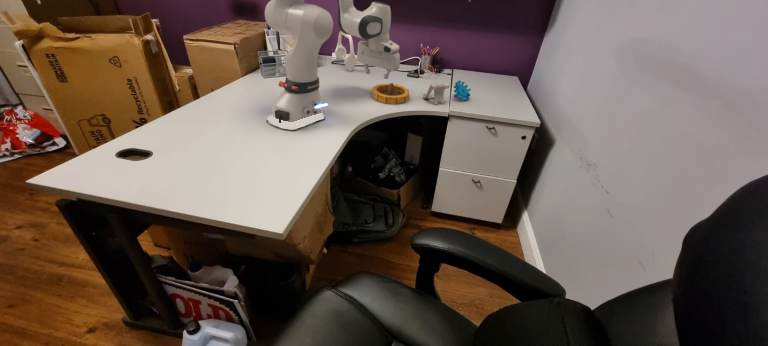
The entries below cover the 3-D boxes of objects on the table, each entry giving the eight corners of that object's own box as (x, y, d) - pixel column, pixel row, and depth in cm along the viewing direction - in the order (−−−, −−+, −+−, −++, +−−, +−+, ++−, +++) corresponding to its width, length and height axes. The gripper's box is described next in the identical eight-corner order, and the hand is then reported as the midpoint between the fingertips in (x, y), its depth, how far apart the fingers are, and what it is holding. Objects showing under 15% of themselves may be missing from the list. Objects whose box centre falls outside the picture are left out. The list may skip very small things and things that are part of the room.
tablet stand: (439, 96, 152) (442, 79, 147) (447, 103, 146) (451, 85, 141) (422, 98, 149) (425, 80, 144) (430, 104, 143) (433, 86, 138)
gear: (459, 100, 146) (453, 79, 147) (450, 105, 151) (444, 85, 152) (475, 99, 152) (469, 79, 153) (466, 104, 157) (460, 85, 158)
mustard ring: (398, 107, 138) (399, 100, 137) (365, 97, 144) (365, 91, 143) (414, 95, 151) (415, 89, 149) (383, 87, 157) (383, 81, 155)
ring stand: (395, 102, 142) (396, 89, 139) (375, 97, 146) (376, 84, 142) (404, 96, 149) (406, 83, 146) (385, 90, 153) (386, 78, 150)
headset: (357, 71, 173) (358, 36, 163) (345, 72, 170) (345, 36, 160) (344, 60, 187) (344, 27, 177) (332, 61, 185) (332, 27, 174)
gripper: (354, 41, 140) (353, 72, 148) (396, 50, 132) (393, 83, 140) (361, 38, 144) (361, 69, 152) (403, 47, 137) (399, 79, 145)
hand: (376, 76), depth 146 cm, fingers open, 8 cm apart
